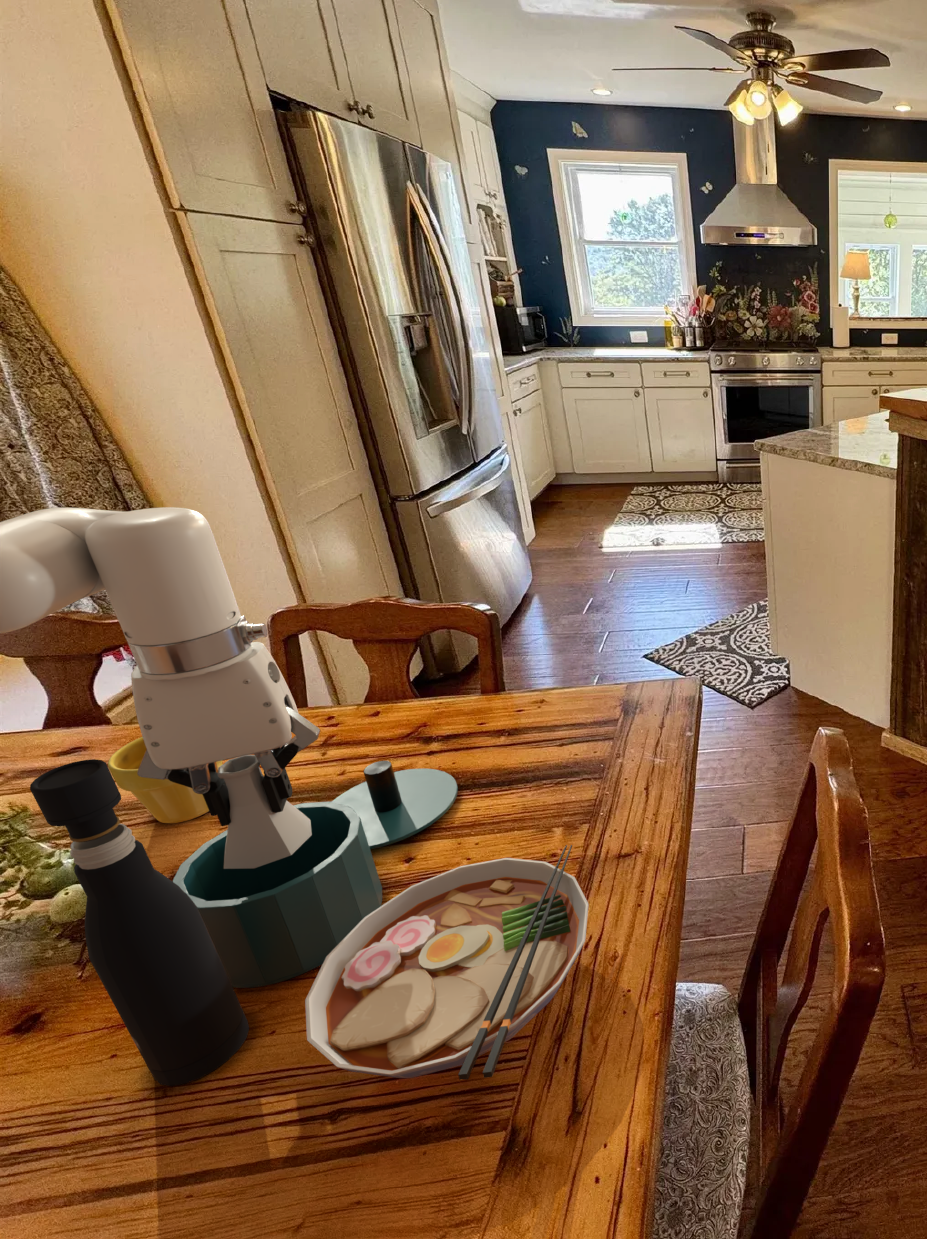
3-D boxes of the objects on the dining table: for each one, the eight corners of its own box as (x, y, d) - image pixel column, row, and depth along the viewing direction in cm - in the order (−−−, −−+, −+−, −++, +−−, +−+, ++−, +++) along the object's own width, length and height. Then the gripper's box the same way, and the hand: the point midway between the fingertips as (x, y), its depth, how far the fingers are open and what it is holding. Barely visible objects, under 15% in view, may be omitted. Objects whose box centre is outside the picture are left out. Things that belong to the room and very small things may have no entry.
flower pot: (223, 823, 89) (197, 759, 86) (118, 843, 86) (86, 777, 82) (255, 775, 98) (233, 716, 95) (161, 792, 95) (134, 731, 91)
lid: (305, 872, 82) (287, 824, 79) (326, 795, 95) (311, 751, 92) (458, 829, 89) (447, 784, 87) (458, 762, 102) (449, 721, 99)
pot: (187, 1013, 66) (147, 930, 62) (229, 903, 78) (198, 828, 74) (375, 950, 72) (349, 872, 69) (387, 858, 84) (366, 787, 81)
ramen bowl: (415, 907, 78) (398, 849, 75) (625, 895, 80) (617, 838, 77) (250, 1162, 54) (215, 1094, 51) (552, 1135, 57) (536, 1068, 54)
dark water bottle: (267, 1015, 66) (153, 748, 55) (209, 1086, 60) (68, 802, 49) (197, 1016, 65) (68, 748, 54) (131, 1087, 59) (-28, 802, 48)
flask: (241, 830, 73) (209, 750, 69) (324, 814, 75) (297, 736, 72) (208, 880, 67) (171, 795, 63) (299, 861, 69) (269, 778, 65)
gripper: (314, 614, 69) (360, 766, 76) (84, 647, 62) (158, 814, 69) (300, 644, 63) (351, 807, 70) (43, 685, 56) (129, 864, 63)
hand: (255, 809), depth 69 cm, fingers closed on flask, 3 cm apart
